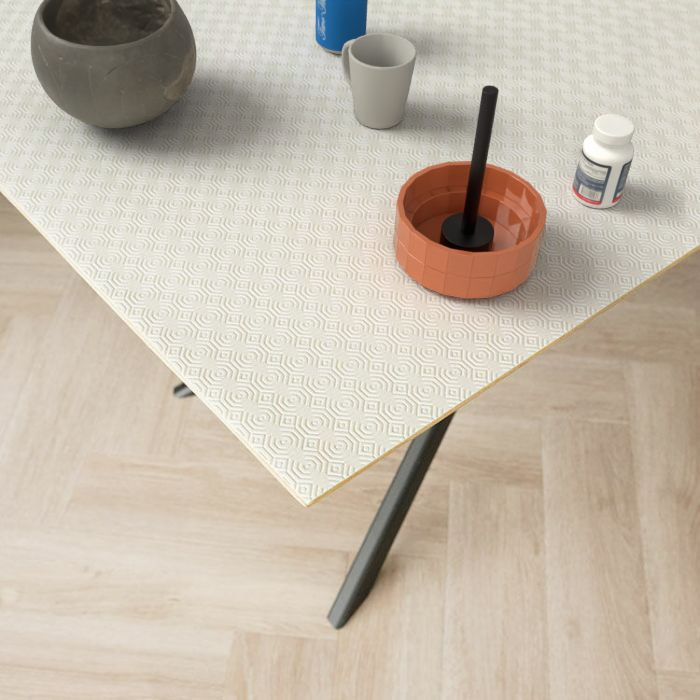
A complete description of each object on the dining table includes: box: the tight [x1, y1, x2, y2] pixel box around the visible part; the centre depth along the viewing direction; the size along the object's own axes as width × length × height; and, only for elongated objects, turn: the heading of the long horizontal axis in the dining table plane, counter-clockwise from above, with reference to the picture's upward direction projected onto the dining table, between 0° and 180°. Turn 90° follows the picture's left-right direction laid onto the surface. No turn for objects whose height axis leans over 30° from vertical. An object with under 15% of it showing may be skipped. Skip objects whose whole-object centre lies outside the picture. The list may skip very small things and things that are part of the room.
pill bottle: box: [571, 113, 635, 209], centre depth 95 cm, size 5×5×9 cm
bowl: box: [30, 0, 198, 129], centre depth 102 cm, size 18×18×13 cm
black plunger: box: [439, 85, 500, 252], centre depth 84 cm, size 5×5×18 cm
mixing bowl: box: [392, 160, 548, 300], centre depth 89 cm, size 14×14×6 cm
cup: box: [340, 32, 418, 130], centre depth 104 cm, size 8×10×8 cm
